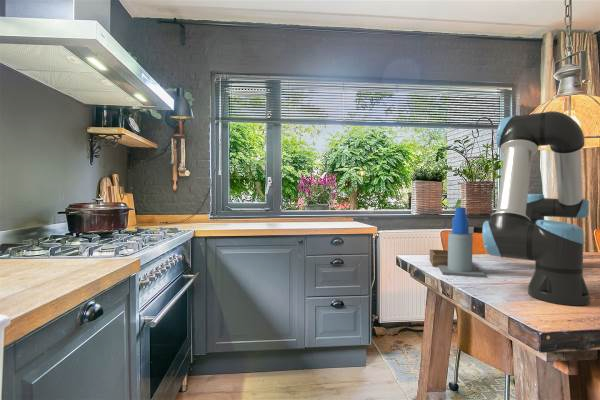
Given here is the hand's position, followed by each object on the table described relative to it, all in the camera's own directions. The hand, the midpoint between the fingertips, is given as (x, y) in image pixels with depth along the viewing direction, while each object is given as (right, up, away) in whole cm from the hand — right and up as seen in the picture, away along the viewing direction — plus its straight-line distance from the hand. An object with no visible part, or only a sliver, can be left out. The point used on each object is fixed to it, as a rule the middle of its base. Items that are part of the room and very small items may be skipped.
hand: (471, 232), depth 140 cm
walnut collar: (-4, -15, +13) cm, 21 cm away
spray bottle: (-6, -15, -1) cm, 16 cm away
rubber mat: (-5, -16, -1) cm, 17 cm away
